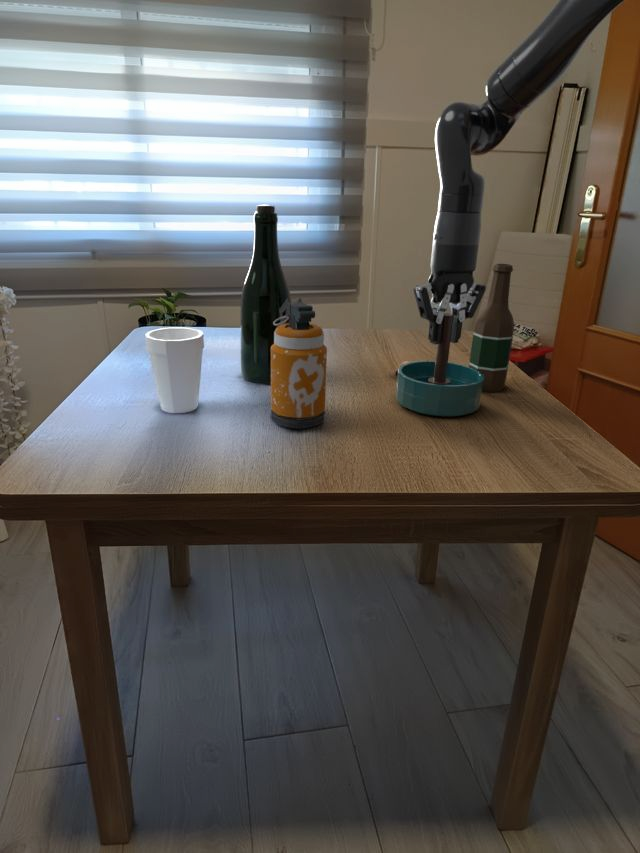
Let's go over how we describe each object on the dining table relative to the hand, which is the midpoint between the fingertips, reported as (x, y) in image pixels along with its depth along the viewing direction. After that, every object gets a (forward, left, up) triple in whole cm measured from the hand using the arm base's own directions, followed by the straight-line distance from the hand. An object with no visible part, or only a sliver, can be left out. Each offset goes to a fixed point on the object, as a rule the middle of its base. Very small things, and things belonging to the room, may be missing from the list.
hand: (444, 342), depth 102 cm
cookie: (+10, -12, -12) cm, 20 cm away
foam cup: (+34, +32, -12) cm, 48 cm away
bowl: (0, 0, -12) cm, 12 cm away
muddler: (0, 0, -11) cm, 11 cm away
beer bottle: (-3, -16, -12) cm, 20 cm away
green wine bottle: (+34, +9, -12) cm, 37 cm away
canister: (+15, +23, -12) cm, 30 cm away
